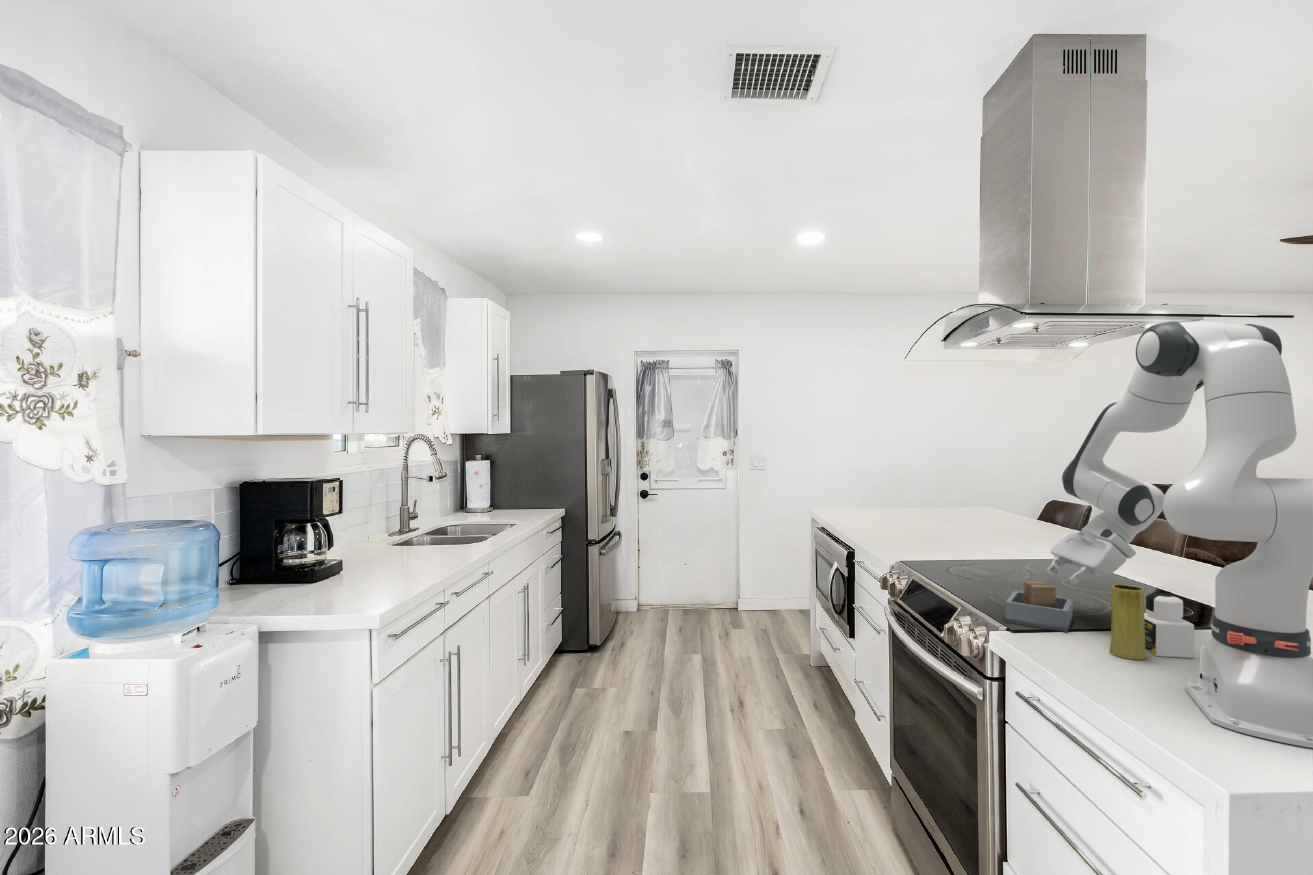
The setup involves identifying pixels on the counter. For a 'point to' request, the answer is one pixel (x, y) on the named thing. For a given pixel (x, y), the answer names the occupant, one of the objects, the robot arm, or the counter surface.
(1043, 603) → the block
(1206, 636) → the counter surface
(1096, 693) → the counter surface
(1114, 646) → the vase
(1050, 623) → the bin
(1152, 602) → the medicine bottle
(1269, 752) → the counter surface
